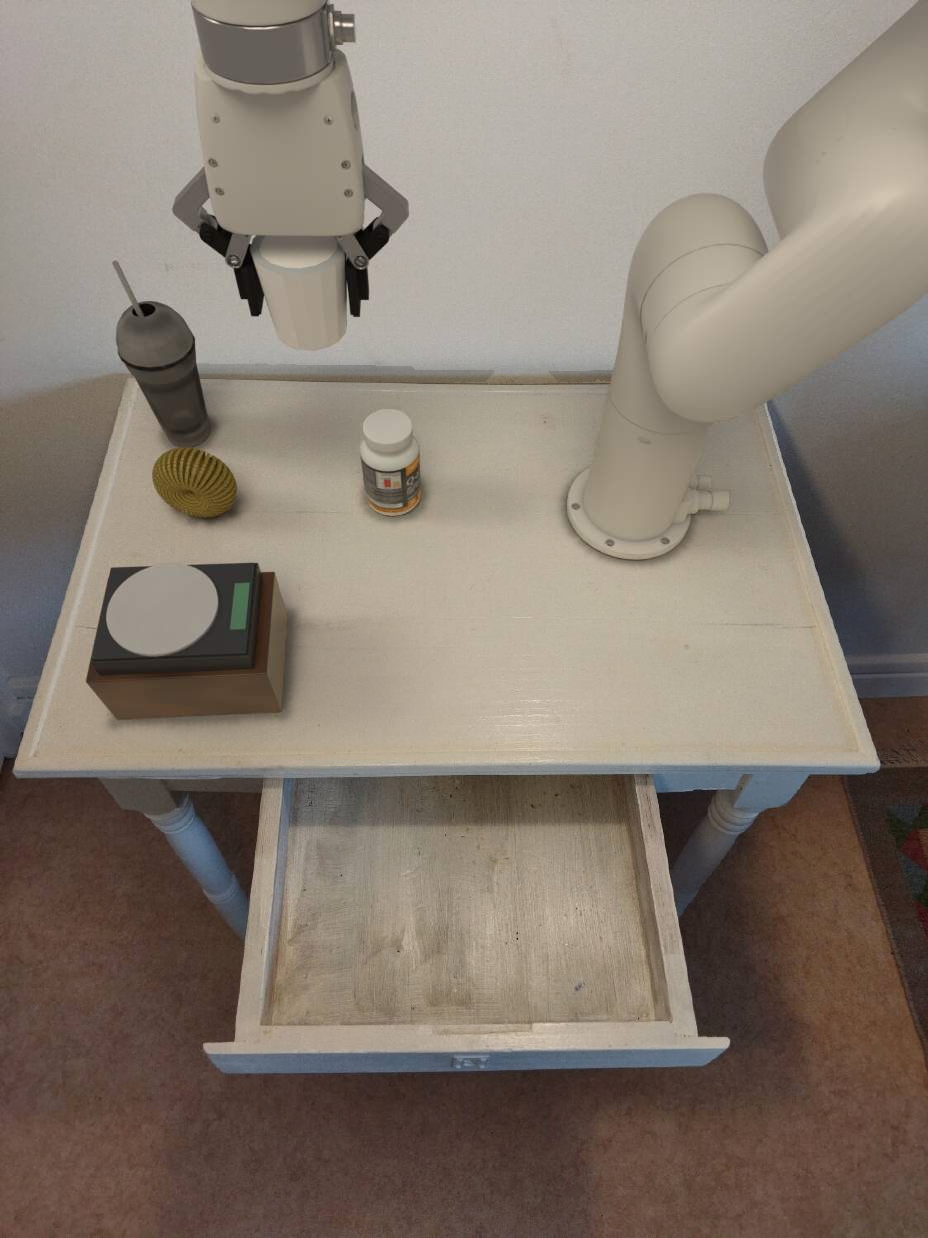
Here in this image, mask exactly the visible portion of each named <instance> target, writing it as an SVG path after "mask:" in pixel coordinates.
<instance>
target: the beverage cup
mask: <svg viewBox="0 0 928 1238" xmlns="http://www.w3.org/2000/svg"><path fill="white" fill-rule="evenodd" d="M111 264H112V266H113V268H114V270H115V272H116V275H117V276H118V279H119V281H120V283H121V286H122V287H123V289H124V291H125V293H126V295H127V298H128V300H129V301H130V303H131V305H130V306H128V307H127V308H126V309H125V310H124V311H123V312H122V314H121V316H120V317H119V319H118V321H117V324H116V330H115V343H116V348H117V355H118V357H119V359H120V361H121V362H122V363H123V364H124V365H125V368H126V369H127V370H128V371H129V373H130V374H131V375H132V376H133V377H134V379H135V381H136V382H137V385H138V386H139V388H140V390H141V392H142V394H143V396H144V398H145V399H146V401H147V403H148V405H149V407H150V409H151V411H152V413H153V414H154V416H155V418H156V420H157V422H158V424H159V426H160V427H161V430H162V432H163V433H164V434H165V435H166V437H167V439H168V441H169V443H170V444H172V445H173V446H175V447H176V448H182V447H188V448H195V447H197V446H199V445H201V444H202V443H204V442H205V441H206V440H207V439H208V438H209V435H210V433H211V428H210V425H209V414H208V411H207V407H206V406H207V405H206V401H205V397H204V392H203V388H202V381H201V378H200V373H199V368H198V364H197V351H196V337H195V335H194V334H193V332H192V330H191V329H190V327H189V325H188V323H187V322H186V320H185V318H184V317H183V316H182V315H181V314H180V313H179V312H178V311H176V310H175V309H174V308H172V307H171V306H169V305H168V304H165V303H162V302H159V301H155V300H154V301H153V300H144V301H139V302H138V300H137V299H136V296H135V294H134V292H133V290H132V288H131V286H130V284H129V282H128V280H127V277H126V276H125V273H124V271H123V270H122V267H121V264H120V263H119V261H118V260H113V261H112V262H111Z"/></svg>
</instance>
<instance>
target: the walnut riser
mask: <svg viewBox="0 0 928 1238" xmlns="http://www.w3.org/2000/svg"><path fill="white" fill-rule="evenodd" d="M261 574H262V587H261V598H260V609H259V621H258V632H257V643H256V654H255V666H254V669H238V670H214V671H191V672H167V673H143V674H120V675H99V674H98V673H97V671H96V670H95V669H94V668H93V666H92V665H91V664H90V662H91V657H92V654H91V655H90V660H89V664H88V669H87V674H86V677H85V683H86V684H87V685H88V686H89V688H90V689H91V690H92V692H93V693H94V694H95V695H96V696H97V698H98V699H99V700H100V701H101V702H102V704H103V705H104V707H106V709H107V710H108V711H109V712H110V713H111V714H112V716H113V717H114V718H115V719H116V720H130V719H131V720H135V719H136V720H137V719H155V718H159V719H160V718H179V717H197V716H198V717H201V716H202V717H203V716H221V715H223V716H225V715H243V714H264V713H266V714H268V713H282V711H283V709H282V708H283V697H284V696H283V695H284V683H285V682H284V681H285V679H284V678H285V663H286V649H287V635H288V619H289V614H288V611H287V607H286V605H285V602H284V601H285V600H284V597H283V594H282V591H281V588H280V583H279V582H278V578H277V575H276V572H275V571H261ZM107 583H108V580H107V581H106V584H105V585H106V586H105V590H104V593H105V592H106V588H107ZM104 597H105V594H103V599H102V602H103V601H104ZM102 606H103V603H102V605H101V609H100V614H99V616H100V615H101V611H102ZM99 620H100V617H99V618H98V623H97V628H96V630H97V629H98V625H99ZM96 634H97V631H96V632H95V636H94V641H93V645H92V651H91V653H92V652H93V648H94V643H95V639H96Z"/></svg>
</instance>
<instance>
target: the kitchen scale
mask: <svg viewBox="0 0 928 1238" xmlns="http://www.w3.org/2000/svg"><path fill="white" fill-rule="evenodd" d="M261 572H262V570H261V568H260V565H259V563H258V562H232V563H231V562H229V563H204V564H203V563H202V564H183V563H174V562H173V563H171V562H170V563H160V564H156V565H145V566H144V565H142V566H117V567H116V566H113V567H110V570H109V574H108V578H107V581H108V583H107V582H106V585H107V588H106V587H105V590H106V592H105V591H104V595H105V597H104V596H103V599H104V601H103V600H102V604H103V606H102V605H101V608H102V611H101V610H100V613H101V615H100V614H99V618H100V620H99V619H98V622H99V625H98V624H97V627H98V629H97V628H96V632H97V634H96V633H95V636H96V639H95V638H94V641H95V643H94V642H93V645H94V648H93V647H92V650H93V652H92V651H91V655H92V657H91V656H90V659H91V662H90V661H89V664H91V665H92V666H93V668H94V669H95V670H96V671H97V673H98V674H99V675H120V674H143V673H167V672H191V671H214V670H238V669H254V666H255V654H256V643H257V632H258V621H259V609H260V598H261V587H262V574H261Z"/></svg>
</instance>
